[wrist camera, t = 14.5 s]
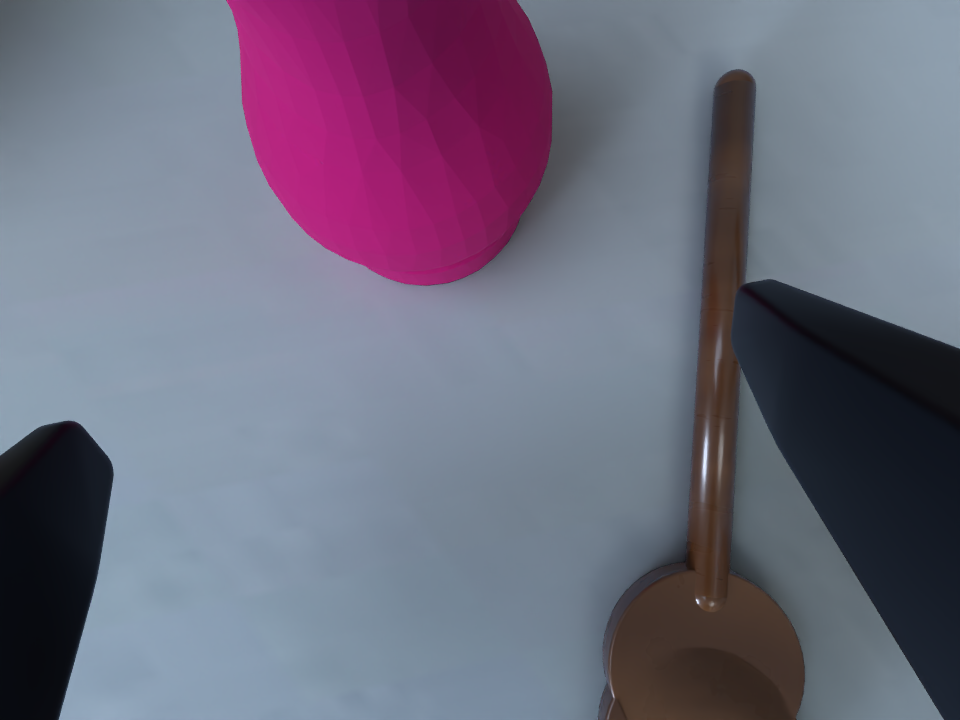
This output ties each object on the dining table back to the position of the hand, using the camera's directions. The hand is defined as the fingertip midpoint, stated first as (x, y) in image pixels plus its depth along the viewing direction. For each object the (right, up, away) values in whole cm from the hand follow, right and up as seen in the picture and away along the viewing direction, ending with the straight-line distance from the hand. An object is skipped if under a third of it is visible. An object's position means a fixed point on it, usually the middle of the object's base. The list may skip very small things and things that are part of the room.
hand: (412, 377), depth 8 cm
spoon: (+8, -2, +10) cm, 13 cm away
